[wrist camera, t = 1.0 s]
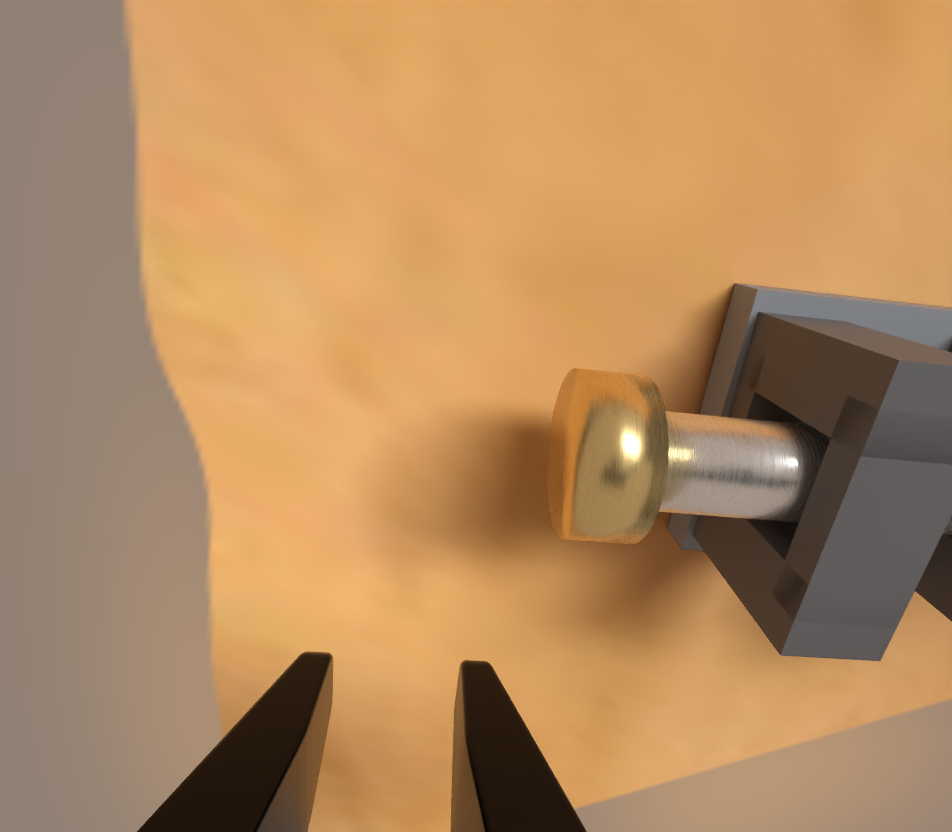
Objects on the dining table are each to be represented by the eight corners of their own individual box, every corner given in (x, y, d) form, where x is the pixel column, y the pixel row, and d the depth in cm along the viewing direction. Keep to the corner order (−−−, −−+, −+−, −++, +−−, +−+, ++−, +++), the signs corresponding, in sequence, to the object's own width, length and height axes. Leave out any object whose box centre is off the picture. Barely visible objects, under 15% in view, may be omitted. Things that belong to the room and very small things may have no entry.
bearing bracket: (1048, 319, 20) (1372, 380, 13) (935, 548, 23) (1141, 694, 16) (735, 283, 19) (901, 328, 12) (667, 528, 22) (764, 673, 15)
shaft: (986, 392, 19) (1164, 454, 14) (927, 518, 20) (1068, 610, 16) (564, 349, 17) (605, 402, 13) (540, 486, 19) (568, 576, 15)
